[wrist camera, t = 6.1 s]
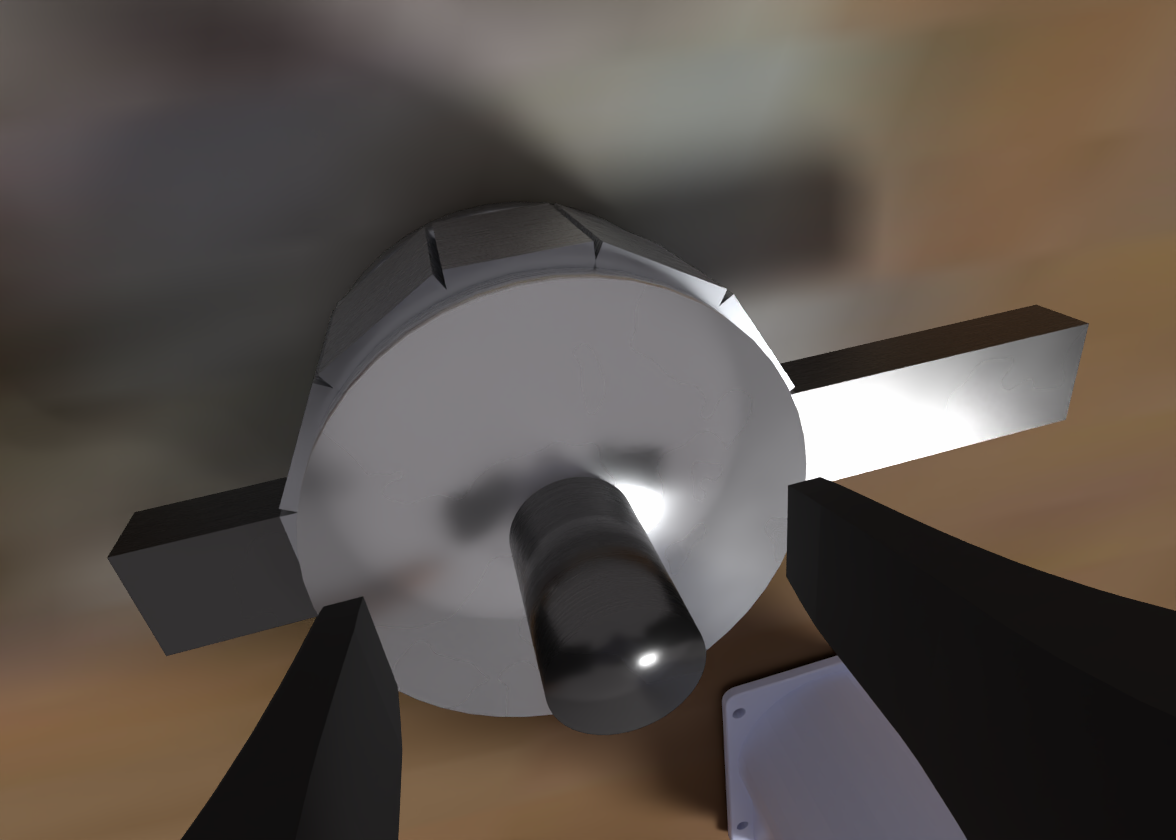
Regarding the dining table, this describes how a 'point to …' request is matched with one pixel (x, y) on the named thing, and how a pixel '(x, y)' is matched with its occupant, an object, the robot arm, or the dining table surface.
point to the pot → (579, 239)
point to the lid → (554, 495)
